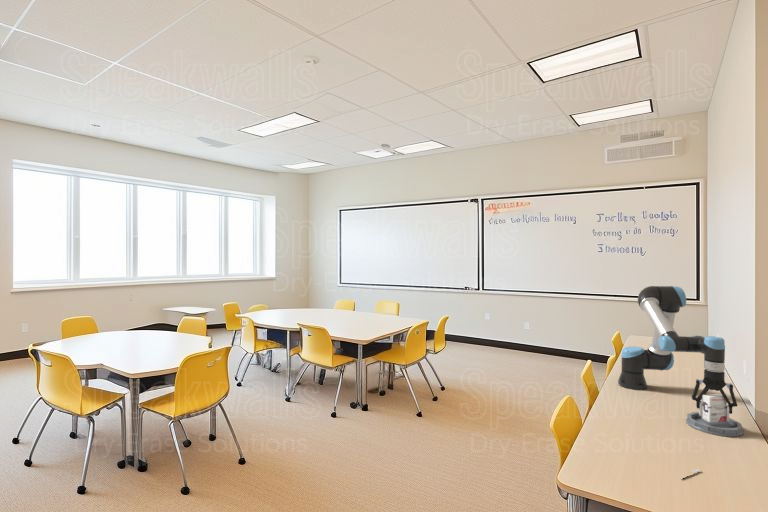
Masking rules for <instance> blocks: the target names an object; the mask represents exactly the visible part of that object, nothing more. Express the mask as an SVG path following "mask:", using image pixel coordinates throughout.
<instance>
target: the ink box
mask: <svg viewBox="0 0 768 512" xmlns="http://www.w3.org/2000/svg"><path fill="white" fill-rule="evenodd" d="M701 402H702V419H704V420H706V421H708V422H726V405H728V403H727V402H726V400H725V399H724V397H723V395H722V394H721V393H720V394H719V393H706V394H705V395H702V399H701Z"/></svg>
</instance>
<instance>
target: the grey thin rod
mask: <svg viewBox="0 0 768 512" xmlns="http://www.w3.org/2000/svg"><path fill="white" fill-rule="evenodd" d="M699 471H701V472H702V470H701V469H700V468H696V469H693V470H691V471H690V472H693V473H696V472H699Z"/></svg>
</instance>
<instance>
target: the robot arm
mask: <svg viewBox="0 0 768 512" xmlns="http://www.w3.org/2000/svg"><path fill="white" fill-rule="evenodd" d="M637 304H638V306H639V308H640V309H641V310H642V311H644V312H645V314H646V316H647V317H648V319H649V321H650V323H651V324H652V325H653V328H654V329H653V333H652V340H651V344H649V345H648V347H647V349H644V348H643V346H642V347H641V346H626V347H624V348H622V349H621V355H620V356H621V357H620V358H621V372H620V375H619V378H618V380H617V383H618V384H617V385H619V384H620V385H622V386H624V387H623V388H625V387H628V388H627V389H629V388H634V389H633V390H636V389H643V390H646V389H647V388H648V383H647V381H646V380H647V379H646V377H645V373H644V372H645V371H644V370H651V371H652V370H653V371H654V370H655V371H669V370H670V369H672V368H673V366H674V363H675V359H674V358H675V357H674V354H673V353H675V352H677V353H701V354H703V355H704V357H703V359H704V360H703V361H704V362H703V364H704V365H703V368H704V370H703V378H702V379H698V378H696V379H695V385H694V386H695V387H694V389H693V392H692V395H691V399H692V400H693V401H695V402H696V409H698V412H699V415H700V416H701V417H702V395H705V394H708V392H709V391H715V392H716V391H717V392H720V395H723V397H724V399H725V400H726V402H727V405H726V420H727V421H729V418H730V414H733V407H738V403H737V399H736V396H735V393H734V385H733V383H727V382H726V381H725V361H726V360H725V359H726V358H725V357H726V345H725V342H726V341H725V339H724V338H723V337H721V336H720V337H719V336H714V335H713V336H712V335H710V336H709V335H708V336H702V335H692V336H683V335H682V336H681V335H680V336H679V334H678V333H677V331H676V329H675V328H674V322H675V317H676V314H677V313H679V312H680V308H684V307H685V306H686V304H687V296H686V293H685V291H684V290H683V288H682V287H679V286H673V285H670V286H669V285H668V286H667V285H665V286H664V285H663V286H662V285H661V286H660V285H658V286H657V285H651V286H650V285H649V286H645V287H644V288H643V289H641V290H640V292H639V293H638V296H637ZM702 384H704V385H705V386H704V388H703V389H702V391H700V393H699V395H698V392H699V389H700V386H701V385H702ZM620 385H619V386H620ZM622 386H621V387H622ZM725 387H727V389H728V390H729V395H730V397H731V401H732V402H731V401H730V399H729V398H728V396H727V394H726V393H725V391H724V389H723V388H725ZM697 395H698V396H697Z"/></svg>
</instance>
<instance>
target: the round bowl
mask: <svg viewBox="0 0 768 512" xmlns="http://www.w3.org/2000/svg"><path fill="white" fill-rule="evenodd" d="M685 423H686V424H687V425H688V426H689V427H691V428H693V429H695V430H697V431H700V432H702V433H705V434H706V433H707V434H709V435H712V436H713V435H715V436H718V437H727V438H737V437H740V436H741V437H742V436H743V434H744V430H743V428H744V427H743V425H742V423H740V422H739V421H737V420H735V419H733V418H731V417H729V421H727V420H726V422H708V421H706V420H704V419H702V417H701V416H700V415H699V411H697V412H696V411H695V412H694V411H693V412H690V413H687V414H686V419H685Z"/></svg>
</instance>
